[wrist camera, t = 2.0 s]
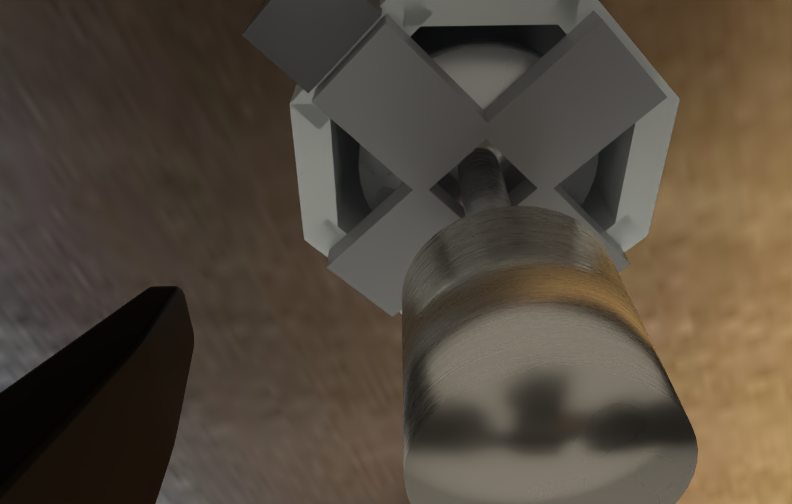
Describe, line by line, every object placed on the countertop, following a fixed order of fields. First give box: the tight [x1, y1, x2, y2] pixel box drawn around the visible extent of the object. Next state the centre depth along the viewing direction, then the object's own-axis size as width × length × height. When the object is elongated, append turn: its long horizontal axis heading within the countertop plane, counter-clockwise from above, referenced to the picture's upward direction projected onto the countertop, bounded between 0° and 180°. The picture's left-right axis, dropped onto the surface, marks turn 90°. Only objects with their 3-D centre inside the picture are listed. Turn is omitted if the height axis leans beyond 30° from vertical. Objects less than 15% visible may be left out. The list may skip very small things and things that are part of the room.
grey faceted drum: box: [242, 0, 680, 317], centre depth 14 cm, size 8×7×6 cm
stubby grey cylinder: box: [359, 37, 698, 504], centre depth 10 cm, size 5×5×8 cm
